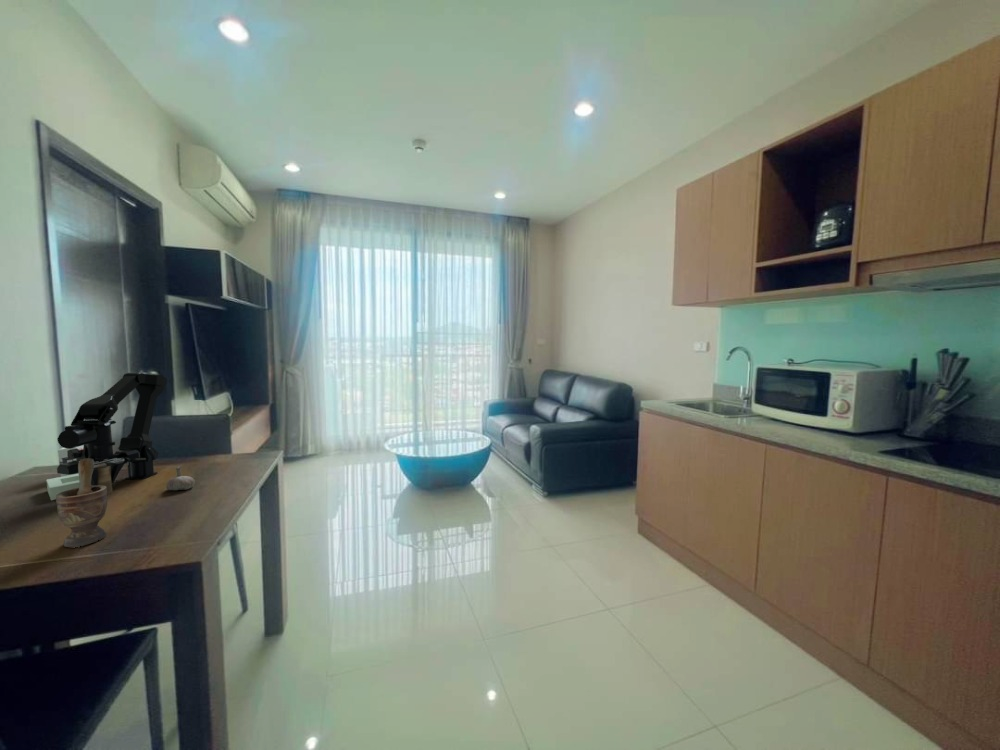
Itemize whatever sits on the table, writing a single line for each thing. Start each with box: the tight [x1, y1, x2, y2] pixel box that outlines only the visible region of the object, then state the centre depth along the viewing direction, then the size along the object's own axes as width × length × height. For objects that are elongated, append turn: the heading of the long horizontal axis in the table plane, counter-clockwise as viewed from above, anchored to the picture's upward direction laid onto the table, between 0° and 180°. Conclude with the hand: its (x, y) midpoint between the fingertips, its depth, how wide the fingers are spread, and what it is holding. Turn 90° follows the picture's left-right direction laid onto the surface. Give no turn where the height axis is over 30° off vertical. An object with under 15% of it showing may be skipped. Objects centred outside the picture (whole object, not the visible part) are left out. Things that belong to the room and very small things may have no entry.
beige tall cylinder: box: [94, 464, 113, 495], centre depth 125 cm, size 4×4×9 cm
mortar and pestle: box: [55, 458, 108, 549], centre depth 96 cm, size 12×9×20 cm
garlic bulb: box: [166, 466, 196, 491], centre depth 130 cm, size 8×7×8 cm
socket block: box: [46, 474, 79, 501], centre depth 128 cm, size 12×12×4 cm
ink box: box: [57, 445, 84, 477], centre depth 140 cm, size 8×5×12 cm, turn 28°
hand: (103, 486), depth 125 cm, fingers closed on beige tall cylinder, 4 cm apart
